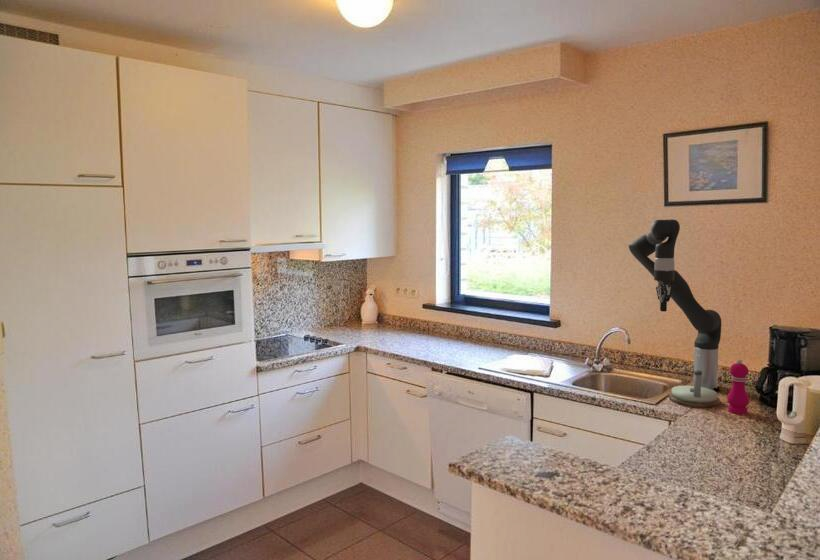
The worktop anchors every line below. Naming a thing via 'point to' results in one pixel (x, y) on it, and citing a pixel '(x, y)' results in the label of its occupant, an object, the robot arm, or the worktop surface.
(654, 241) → the robot arm
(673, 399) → the grey flat disc
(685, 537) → the worktop surface
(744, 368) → the pepper mill
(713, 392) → the dial
